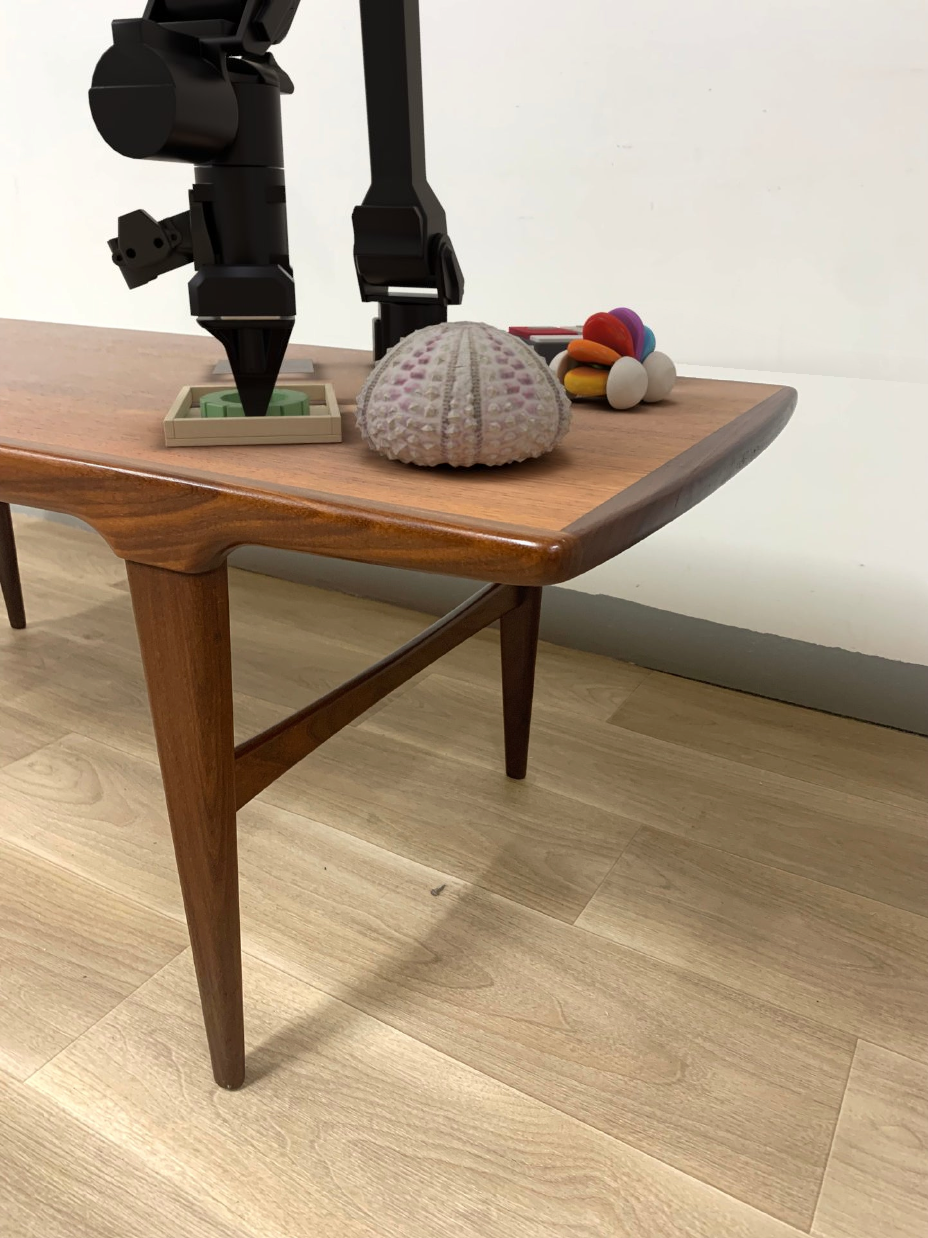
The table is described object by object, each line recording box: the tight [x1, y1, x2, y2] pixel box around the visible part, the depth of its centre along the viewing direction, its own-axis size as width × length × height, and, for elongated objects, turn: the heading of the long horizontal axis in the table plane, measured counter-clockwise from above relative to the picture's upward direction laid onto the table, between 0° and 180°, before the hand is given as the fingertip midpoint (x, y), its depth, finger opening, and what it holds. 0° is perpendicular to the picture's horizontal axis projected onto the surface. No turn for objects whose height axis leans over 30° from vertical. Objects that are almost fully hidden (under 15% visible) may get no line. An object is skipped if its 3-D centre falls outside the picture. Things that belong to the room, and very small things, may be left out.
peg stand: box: [211, 358, 315, 375], centre depth 88 cm, size 9×9×7 cm
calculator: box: [507, 324, 584, 366], centre depth 91 cm, size 11×4×15 cm
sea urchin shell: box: [352, 320, 574, 468], centre depth 58 cm, size 13×14×8 cm
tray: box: [162, 383, 343, 448], centre depth 68 cm, size 11×13×2 cm
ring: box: [199, 389, 311, 418], centre depth 67 cm, size 8×8×1 cm
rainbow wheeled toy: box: [549, 306, 678, 410], centre depth 76 cm, size 8×10×7 cm
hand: (257, 411), depth 68 cm, fingers closed on ring, 8 cm apart
